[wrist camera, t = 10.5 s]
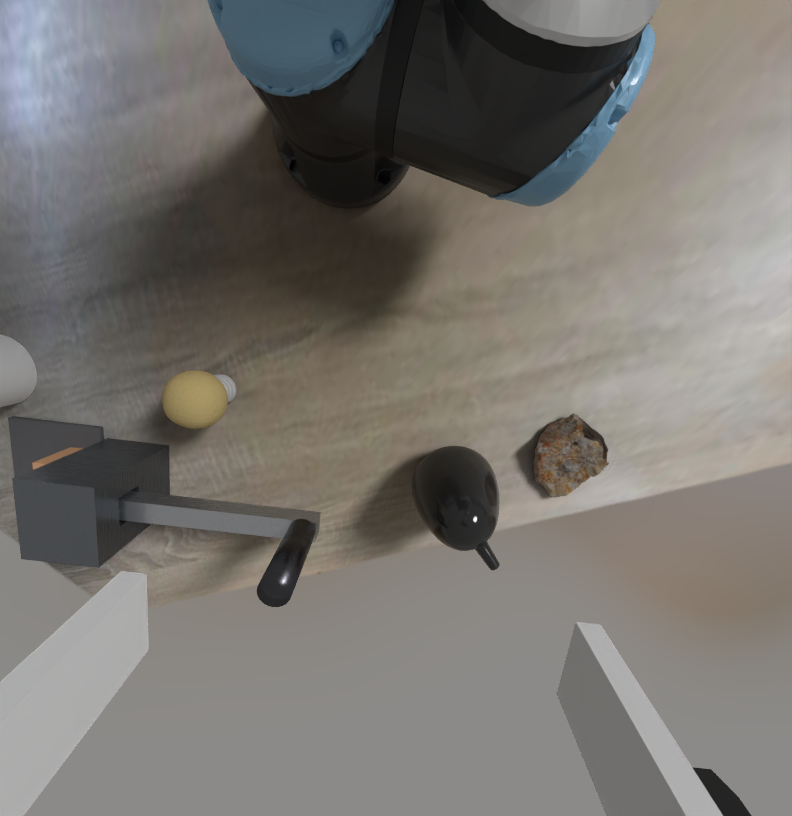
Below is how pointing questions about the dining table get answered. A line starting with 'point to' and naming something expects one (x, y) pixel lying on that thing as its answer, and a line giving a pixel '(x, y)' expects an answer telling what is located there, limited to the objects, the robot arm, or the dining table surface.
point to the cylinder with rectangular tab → (15, 372)
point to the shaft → (236, 531)
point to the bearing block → (86, 501)
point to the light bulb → (197, 398)
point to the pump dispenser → (458, 499)
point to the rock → (568, 455)
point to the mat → (46, 439)
